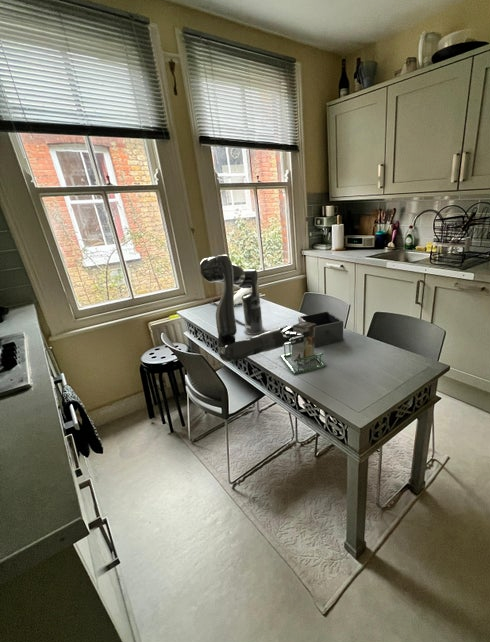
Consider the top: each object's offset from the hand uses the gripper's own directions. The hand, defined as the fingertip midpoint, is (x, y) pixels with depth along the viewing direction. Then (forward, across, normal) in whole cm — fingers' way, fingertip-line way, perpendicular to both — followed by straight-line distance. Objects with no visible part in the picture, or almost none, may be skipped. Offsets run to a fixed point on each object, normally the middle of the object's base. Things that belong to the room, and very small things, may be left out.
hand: (304, 330), depth 132 cm
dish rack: (-2, 0, +14) cm, 15 cm away
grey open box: (+19, +16, +14) cm, 29 cm away
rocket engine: (+7, +96, +14) cm, 98 cm away
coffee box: (-2, 0, +14) cm, 14 cm away
